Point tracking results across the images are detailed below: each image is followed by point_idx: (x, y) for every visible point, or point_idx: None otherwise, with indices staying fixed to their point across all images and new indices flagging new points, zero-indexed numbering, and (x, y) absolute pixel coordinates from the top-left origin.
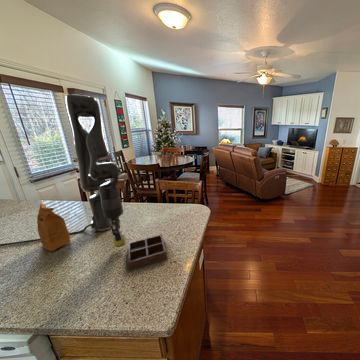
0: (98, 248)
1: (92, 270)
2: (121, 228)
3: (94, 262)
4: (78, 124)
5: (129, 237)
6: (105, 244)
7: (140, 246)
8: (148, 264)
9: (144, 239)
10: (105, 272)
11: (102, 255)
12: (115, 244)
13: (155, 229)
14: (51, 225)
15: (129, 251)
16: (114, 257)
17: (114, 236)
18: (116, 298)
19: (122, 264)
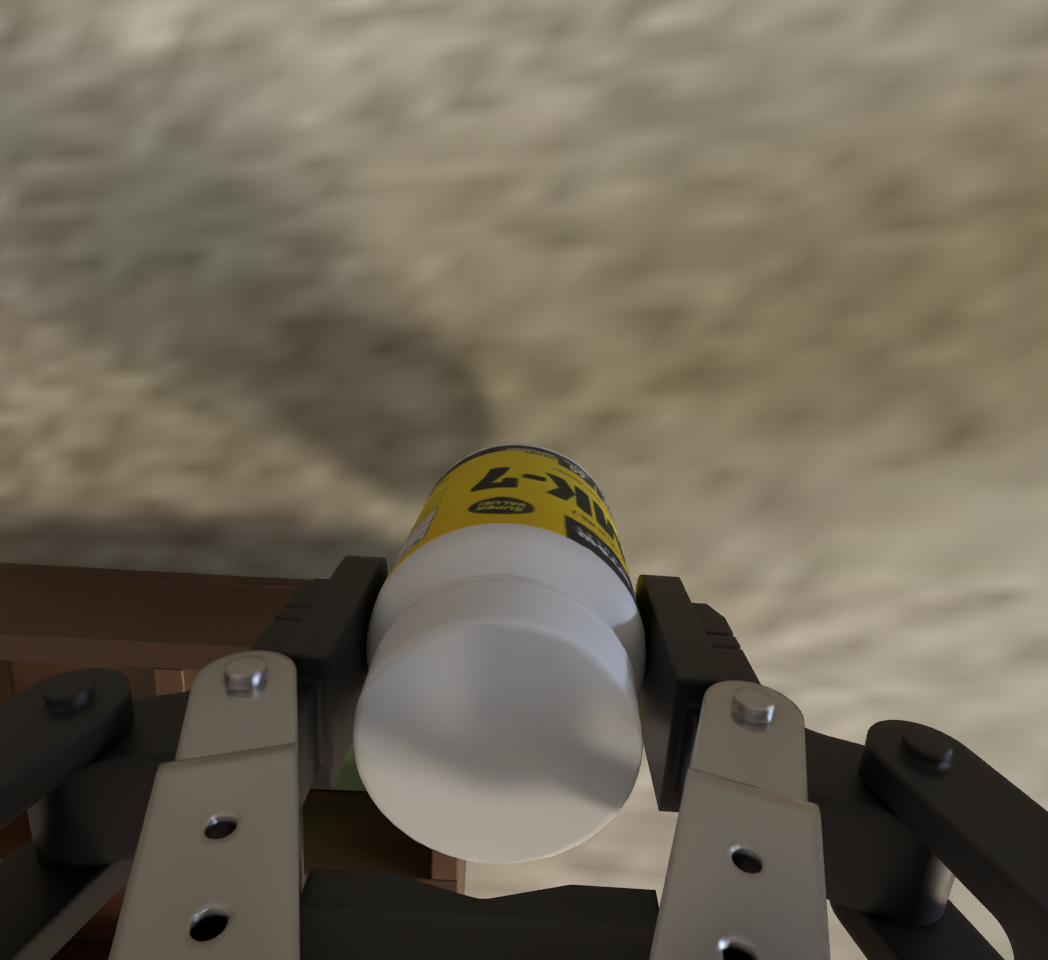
0: (826, 121)
1: (188, 78)
2: (546, 852)
3: (401, 89)
4: None
5: (851, 601)
6: (887, 237)
7: None
8: None
9: (435, 876)
10: (60, 274)
11: (545, 206)
12: (443, 482)
13: (832, 927)
14: None
15: (175, 664)
16: (385, 387)
17: (402, 583)
18: None
19: (155, 489)
